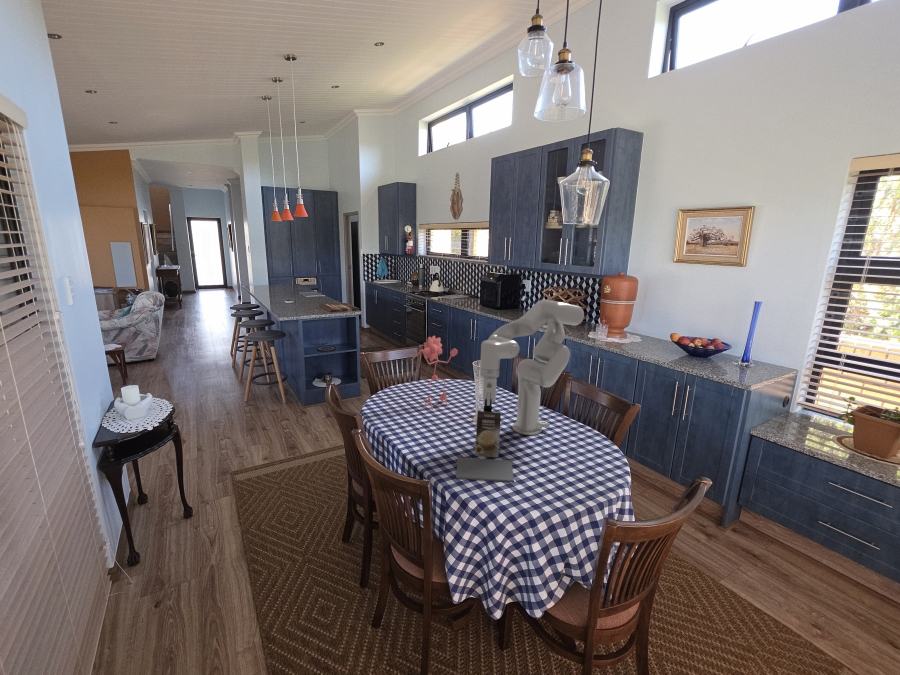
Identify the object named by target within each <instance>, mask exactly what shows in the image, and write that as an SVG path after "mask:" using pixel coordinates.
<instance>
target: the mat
mask: <svg viewBox="0 0 900 675" xmlns="http://www.w3.org/2000/svg"><path fill="white" fill-rule="evenodd" d="M513 471H514V470H513V463H512V459H511V460H508V459H493V458H492V459H491V458H471V457H457V464H456V472H455V473H456V474H455V479H456V480H457V479H458V480H469V481H470V480H471V481H472V480H473V481H476V480H477V481H489V482H490V481H491V482H492V481H493V482H494V481H495V482H506V483H507V482H509V483H513V482H515V478H514V472H513Z"/></svg>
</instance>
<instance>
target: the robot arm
mask: <svg viewBox="0 0 900 675" xmlns="http://www.w3.org/2000/svg"><path fill="white" fill-rule="evenodd" d="M584 319H585V313H584V309H583V308H582V306H579V305H575V304H569V303H566V302H561V301H557V300H550V299H541V300H538V301H536V303H535V304H534V305H533V306H532V307H530V309H528V310H527V311H526V313H524V314H523V315H522V316H521V317H520V318H518V319H515V320H513V321H510V322H508V323H506V324H503V325H501V326H500V327H498V328H497V329H496V330H495V331H493V332H492V333H491V334H490V336H489V337H488V339H486V340H483V341H482V342H481V344H480V366H479V376H480V377H482V401H483V402H484V404H483V411H485V412H493V405H492V404H493V403H495V402H496V400H497V378H499V377H500V364H501V362H500V361H501V359H514V358H515V357H517V356H518V355H519V353H520V351H521V348H520V345H519V343H518V342H517V341H516V340H513V339H514V338H519V337H528V336H533V335H534V334H535V333H537V331H539V329H540V328H541V327H542V326H543V325H545V324H546V323H547V328H546V331H545V332H544V333H543V335H542V337H541V338H540V339H539V341H537V344H536V345H535V347H534V348H533V352H532V355H533V358H534V359H531V358H524V359H522V360H521V361H519V363H518V365H517V369H516V372H517V373H516V375H517V380H518V381H517V382H518V388H517V389H518V390H517V391H518V393H517V394H518V395H517V409H516V422H514V423H513V424H512V430H513V431H514V432H516V433H518V434H520V435H525V436H534V435H539V434H540V433H541V432H542V430H543V429H542V428H550V427H551V426H550V422H546V421H545V420H542V421H541V420H540V409H541V408H540V407H541V406H540V405H541V395H542V394H541V392H542V391H541V387H543V388H551V387H553V385H555V383H556V382H557V380H558V379H559V377H560V376H561V375H562V372H563V371H564V370H565V368H566V366H567V365H568V363H569V361H570V358H571V351H570V348H569V347H568V346H566V345H564V344H562V343H563V342H564V340H565V337H566V336H565V335H566V333H565V329H564V325H568V326H569V325H570V326H574V327H575V326H578V325H580V324H581V323H582V322H583V320H584Z"/></svg>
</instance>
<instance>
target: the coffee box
mask: <svg viewBox="0 0 900 675" xmlns="http://www.w3.org/2000/svg"><path fill="white" fill-rule="evenodd" d="M476 413H477V414H476V416H477V417H476V428H475V429H476V432H475V444H474V445H475V447H474V456H477V457H488V458H489V457H490V458H499V449H500V437H501V436H500V434H501V420H502V419H501V418H502V415H501V412H497V411H494V412H493V411H492V412H485V411H484V410H477V412H476Z"/></svg>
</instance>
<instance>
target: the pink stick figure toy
mask: <svg viewBox="0 0 900 675" xmlns="http://www.w3.org/2000/svg"><path fill="white" fill-rule="evenodd" d="M441 339H442V338H441V337H436V335H432V336H428V337H427V341H425V342H423V347H424V348H423V349H422V348H421V349H420V350H419V351H418V352H417V353H415V355H413V357H412V358H411V359H410V361H413V360H414V359H415V358H417V357H418V356H419V355H420V354H421V353H422V354H423V357H424V359H425V361H426V362H427V364H428V365H432V364H434V371H433V375H432V376H431V380H430V383H429V384H428V389H430V386H431V383H432V382H433V381H436V380H440V381H443V382H444V384H443V389H445V387H446V386H445V384H446V380H444V379H442V378H439V377H438V375H437V374H436V369H437V365H438V363H445V364H448V363H449V362H450V360H451V358H452V357H453V358H454V357H455V356H457V355H458V353H459V352H458V349H456V348H452V349H451V350H450V352H449V353H450V356H449V358H448V360H447V361H443V360H439V355H442V354H443V348H442V347H443V344H442V343H441ZM428 359H429V360H428ZM434 360H435V361H434ZM429 361H430V362H429ZM430 398H432V396H429V397H427V399H426V401H425V403H424V404H423V408H425V407H426V405H427V404H428V403H429V404H430V406H431V407H430V408H431V410H432V411H434V408H433V404H432V401H431V399H430ZM446 398H447V393H446V392H445V390H443V393H442V394H441V395H440V396H439V400H440V401H441V402H445V406H446V405H447V406H448V402H447V400H446ZM423 400H424V398H423V399H422V401H423ZM413 405H415V403H414V402H413Z"/></svg>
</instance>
